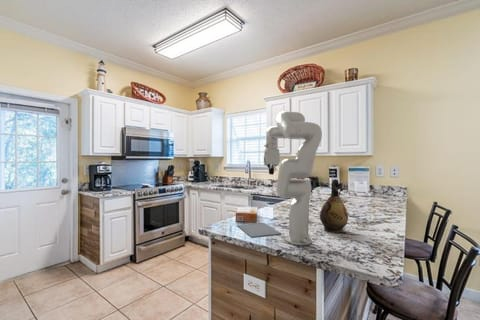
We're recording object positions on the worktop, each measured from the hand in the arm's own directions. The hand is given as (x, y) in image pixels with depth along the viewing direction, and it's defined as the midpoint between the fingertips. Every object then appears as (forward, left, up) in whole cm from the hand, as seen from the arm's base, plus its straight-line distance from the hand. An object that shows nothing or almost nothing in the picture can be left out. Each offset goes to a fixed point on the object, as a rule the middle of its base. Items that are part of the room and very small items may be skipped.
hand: (271, 174), depth 157 cm
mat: (-15, +16, -31) cm, 38 cm away
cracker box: (+2, +17, -28) cm, 33 cm away
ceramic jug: (-28, -27, -31) cm, 50 cm away
